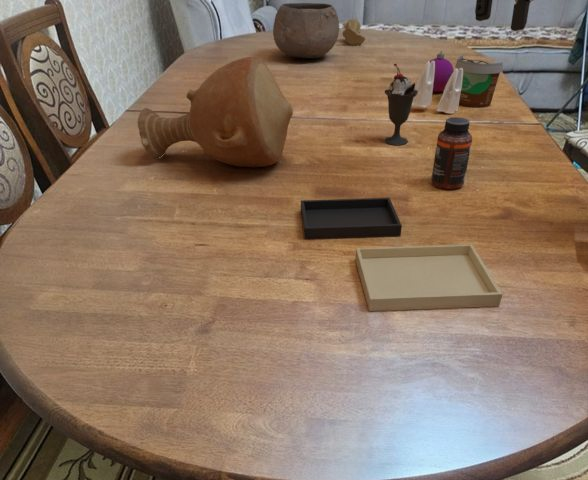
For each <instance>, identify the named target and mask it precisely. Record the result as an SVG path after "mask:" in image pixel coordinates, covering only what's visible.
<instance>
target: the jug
mask: <svg viewBox="0 0 588 480" xmlns="http://www.w3.org/2000/svg"><path fill="white" fill-rule="evenodd" d="M186 98H187V100H189V101H190V109H189V112H188V113H187V114H184V115H182V116H178V117H163V116H162V117H161V116H159V114H158V113H156V112H155V111H154V110H152V109H150V108H148V107H144V108H142V110H141V111H140V113H139V114H138V117H137V128H138V134H139V137H140V141H141V145H142V147H143V148H144V149H145V151H146V153H147V154H148V155H149V156H150V157H151V158H152V159H154V160H158V159H157V158H159V157H161V156H162V155H163V154H164V153H165V154H166V152H167V150H168V148H170V147H171V146H172V145H174V144H178V143H180V142H194V143H197V144H198V145H199V147H200V148H201V149H202V150H203V151H204V152H205V153H206V154H208V155H209V156H210V157H212V158H214V159H215V160H217V161H219V162H221V163H224V164H227V165H229V166H235V167H242V168H244V167H245V168H259V167H260V168H261V167H268V166H272V165H275V164H276V163H278V162H279V161H280V160H281V158H282V156H283V152H284V148H285V145H286V139H287V136H288V129H289V124H290V121H291V119H292V116H293V114H294V109H293V106H292V104H291V103H290V102H289V101H288V99H286V96H285V95H284V94H283V92H282V90H281V88H280V86H279V84H278V81H277V80H276V77H275V76H274V74H273V72H272V71H271V70H270V68H269V67H268V65H267V64H266V63H265V62H264V61H263V60H261V59H260V58H258V57H256V56H247V57H242V58H239V59H235V60H233V61H231V62H229V63H227V64H225V65H223V66H221V67H219V68H217V69H216V70H215V71H213V72H212V73H211V74H210V75H209V76H208V77H207V78H206V79H205V80H204V81H202V83H201V84H200V86H199V87H198V88H197V89H196V90H193V89H189V90H188V91H187V93H186Z"/></svg>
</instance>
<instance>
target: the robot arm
mask: <svg viewBox="0 0 588 480" xmlns="http://www.w3.org/2000/svg"><path fill="white" fill-rule="evenodd" d="M532 1H534V0H514V2H515V3H514V4H513V9H512V14H511V15H512V17H511V22H510V30H511V31H514V32H518V31H523V30H524V29H525V28H526V26H527V22H528V18H529V17H528V15H529V10H530V4H531V2H532ZM475 3H476V4H475V10H474V14H475V16H474V17H475V20H476V21H478V22H483V21H487V20H489V19H490V18H491V15H492V7H493V0H475Z"/></svg>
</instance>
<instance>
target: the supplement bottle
mask: <svg viewBox="0 0 588 480" xmlns="http://www.w3.org/2000/svg"><path fill="white" fill-rule="evenodd" d="M469 129H470V120H469V119H468V118H465V117H460V116H454V117H448V118H446V119H445V124H444V129H443V130H442V131H440V132H439V134H438V135H437V139H436V145H435V153H434V159H433V166H432V172H431V178H430V179H431V180H430V182H431V184H432V185H433V186H434V187H436V188H439V189H443V190H457V189H459V188H461V187H463V186H464V185H465V180H466V175H467V171H468V164H469V160H470V154H471V148H472V144H473V136H472V134H471V133H470V132H469Z"/></svg>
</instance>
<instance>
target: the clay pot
mask: <svg viewBox="0 0 588 480" xmlns="http://www.w3.org/2000/svg"><path fill="white" fill-rule="evenodd" d="M336 10H337V9H335V8H334V6H333V5H332V4H328V3H319V2H289V3H287V2H286V3H282V4H281V5H280V7H279V8H278V10H277V11H276V14H275V17H274V21H273V27H272V35H273V40H274V43H275V45H276V47H277V48H278V50H280V52H281V53H283V54H285V55H286V56H289V57H291V58H296V59H318V58H321V57H324V56H325V55H326V54H328V53H329V52H330V51H331V50H332V49H333V48H334V46H335V44H336V43H337V41H338V38H339V34H340V21H339V15H338V14H337V11H336Z"/></svg>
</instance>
